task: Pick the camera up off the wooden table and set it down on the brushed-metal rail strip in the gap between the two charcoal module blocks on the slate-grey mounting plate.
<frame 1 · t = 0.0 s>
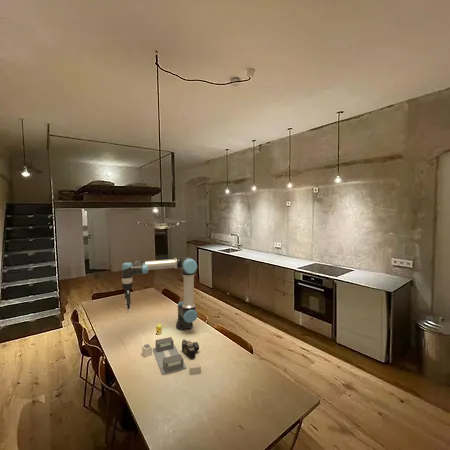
hand: (127, 309, 205), 28 cm above the table, fingers open, 13 cm apart
rail board: (168, 358, 187), on the table
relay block: (147, 354, 193), on the table
terminal block: (195, 372, 172), on the table
camera: (191, 353, 195), on the table
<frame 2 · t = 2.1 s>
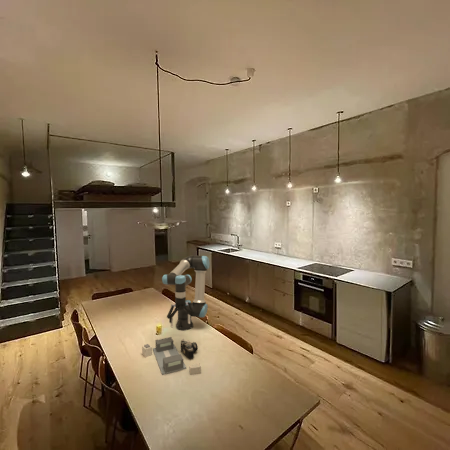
hand: (180, 325, 195), 20 cm above the table, fingers open, 13 cm apart
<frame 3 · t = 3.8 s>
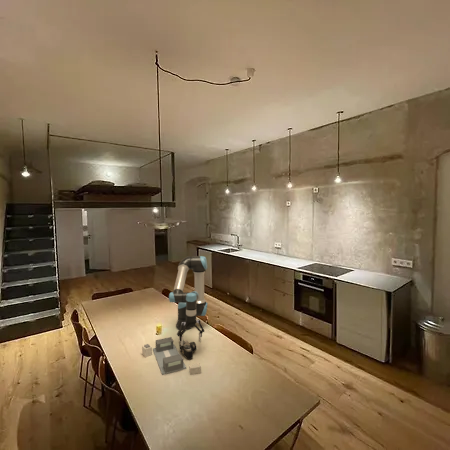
hand: (190, 343, 193), 8 cm above the table, fingers open, 13 cm apart
camera: (189, 353, 194), on the table, touching gripper
everything else where it was.
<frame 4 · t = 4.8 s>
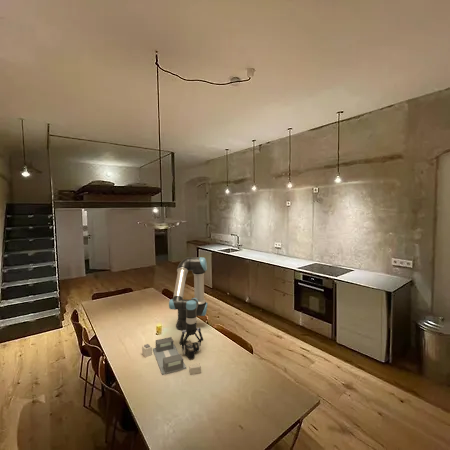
hand: (191, 351, 194), 1 cm above the table, fingers closed on camera, 10 cm apart
camera: (191, 353, 194), on the table, touching gripper
everything else where it was.
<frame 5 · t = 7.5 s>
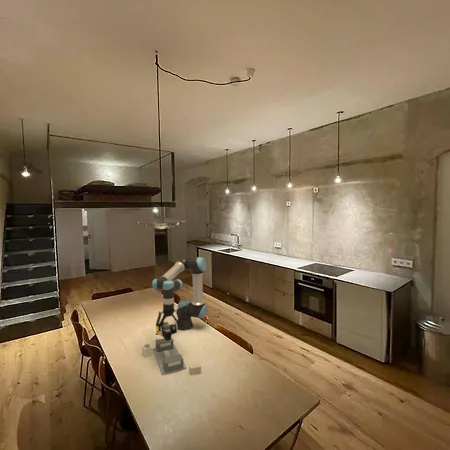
hand: (168, 334, 187), 18 cm above the table, fingers closed on camera, 10 cm apart
camera: (168, 336, 186), point 16 cm above the table, touching gripper
everything else where it was.
when the fingers open (4 cm above the table, at t = 10.2 s): camera drops 2 cm, resting on rail board.
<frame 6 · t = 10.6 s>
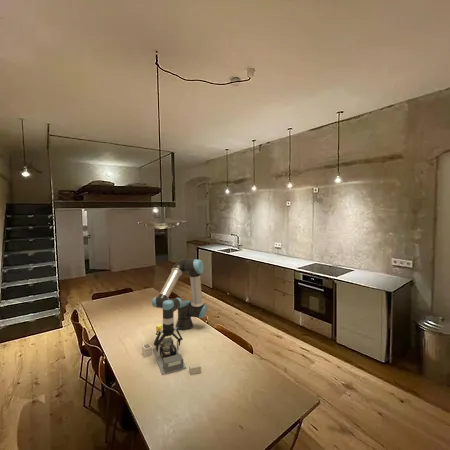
hand: (168, 352, 187), 5 cm above the table, fingers open, 13 cm apart
camera: (168, 357, 187), point 1 cm above the table, touching rail board
everything else where it was.
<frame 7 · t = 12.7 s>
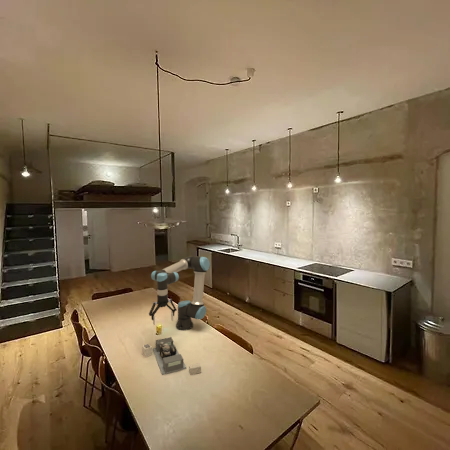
hand: (163, 322, 196), 22 cm above the table, fingers open, 13 cm apart
nothing on the table moved.
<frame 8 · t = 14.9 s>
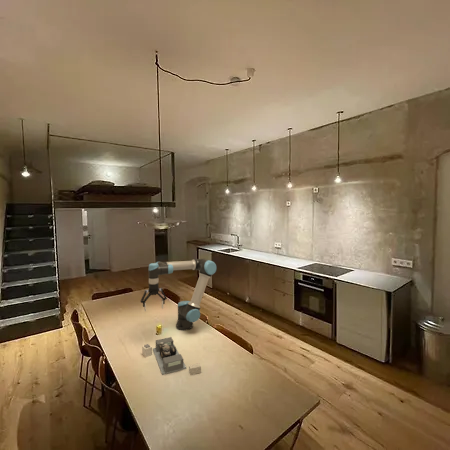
hand: (153, 309, 209), 27 cm above the table, fingers open, 13 cm apart
nothing on the table moved.
at the end: camera inside the target area on the rail board (0.2 cm from its centre), point 0.8 cm above the rail board's base; camera tilted 0°; the gripper is holding nothing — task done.
